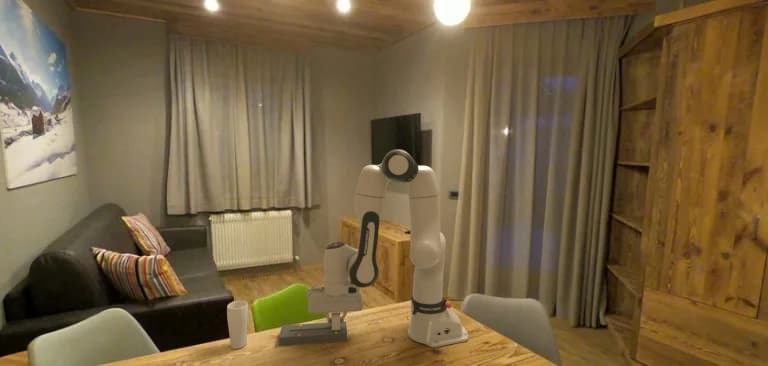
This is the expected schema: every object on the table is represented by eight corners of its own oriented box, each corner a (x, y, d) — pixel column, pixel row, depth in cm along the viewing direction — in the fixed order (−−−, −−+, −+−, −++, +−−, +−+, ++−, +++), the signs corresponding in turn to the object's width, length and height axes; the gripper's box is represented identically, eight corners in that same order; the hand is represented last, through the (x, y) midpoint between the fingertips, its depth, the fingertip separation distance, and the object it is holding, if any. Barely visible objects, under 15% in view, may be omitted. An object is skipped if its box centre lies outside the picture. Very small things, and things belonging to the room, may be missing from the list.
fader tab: (339, 323, 137) (339, 310, 137) (340, 329, 132) (340, 316, 132) (331, 323, 137) (331, 310, 136) (331, 330, 132) (331, 317, 131)
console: (345, 328, 140) (345, 321, 140) (347, 341, 131) (347, 332, 131) (282, 332, 136) (281, 325, 136) (278, 345, 127) (278, 337, 127)
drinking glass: (241, 352, 123) (240, 309, 122) (223, 349, 124) (222, 307, 123) (252, 341, 130) (251, 301, 128) (235, 339, 131) (234, 299, 130)
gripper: (306, 291, 128) (306, 328, 130) (363, 288, 131) (363, 324, 133) (307, 284, 134) (307, 320, 136) (362, 282, 138) (361, 316, 139)
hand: (335, 322), depth 134 cm, fingers closed on fader tab, 3 cm apart
